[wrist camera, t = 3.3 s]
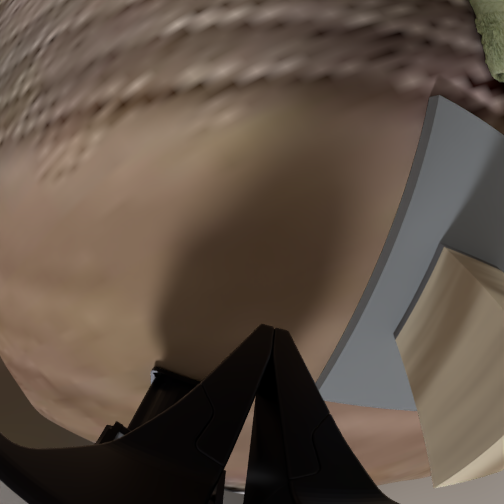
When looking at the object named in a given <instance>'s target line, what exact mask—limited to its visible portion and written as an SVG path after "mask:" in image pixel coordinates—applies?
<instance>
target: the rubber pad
mask: <svg viewBox="0 0 504 504" xmlns="http://www.w3.org/2000/svg"><path fill="white" fill-rule="evenodd" d="M439 242H440V243H443V244H445V245H448V246H450V247H453V248H455V249H457V250H460V251H462V252H465V253H467V254H470V255H472V256H474V257H477V258H479V259H481V260H484V261H486V262H488V263H490V264H493V265H495V266H497V267H498V268H499V269H500V270H501V271H502V272H503V273H504V135H503V134H501V133H500V132H499V131H497V130H496V129H494V128H493V127H491V126H490V125H489V124H487V123H486V122H484V121H483V120H481V119H480V118H478V117H476V116H475V115H473V114H472V113H470V112H468V111H467V110H465V109H464V108H462V107H460V106H458V105H457V104H455V103H453V102H451V101H450V100H448V99H446V98H444V97H442V96H441V95H437V96H432V97H429V102H428V107H427V111H426V116H425V120H424V124H423V128H422V132H421V136H420V140H419V144H418V147H417V151H416V154H415V158H414V161H413V165H412V168H411V171H410V175H409V178H408V181H407V184H406V187H405V190H404V193H403V196H402V199H401V202H400V205H399V208H398V211H397V213H396V216H395V219H394V221H393V224H392V227H391V229H390V232H389V235H388V237H387V240H386V242H385V245H384V247H383V250H382V252H381V255H380V257H379V259H378V262H377V264H376V266H375V269H374V271H373V273H372V276H371V278H370V280H369V282H368V284H367V287H366V289H365V291H364V293H363V295H362V297H361V299H360V302H359V304H358V306H357V308H356V310H355V312H354V314H353V316H352V318H351V320H350V322H349V324H348V326H347V328H346V330H345V332H344V334H343V335H342V337H341V339H340V341H339V343H338V345H337V347H336V348H335V350H334V352H333V354H332V356H331V357H330V359H329V361H328V363H327V365H326V366H325V368H324V370H323V371H322V373H321V375H320V377H319V378H318V380H317V382H316V383H315V384H316V386H317V388H318V390H319V392H320V394H321V396H322V398H323V400H324V401H330V402H337V403H343V404H350V405H358V406H366V407H374V408H384V409H396V410H410V411H417V408H416V405H415V401H414V397H413V394H412V390H411V387H410V384H409V380H408V377H407V374H406V371H405V367H404V364H403V361H402V358H401V355H400V352H399V349H398V346H397V343H396V341H395V338H394V335H393V333H394V331H395V329H396V328H397V326H398V324H399V323H400V321H401V319H402V317H403V316H404V314H405V312H406V310H407V308H408V307H409V305H410V303H411V301H412V299H413V297H414V295H415V293H416V291H417V289H418V287H419V285H420V283H421V281H422V279H423V277H424V275H425V273H426V271H427V269H428V267H429V265H430V262H431V260H432V258H433V256H434V254H435V251H436V249H437V247H438V244H439Z"/></svg>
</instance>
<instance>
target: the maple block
mask: <svg viewBox="0 0 504 504" xmlns="http://www.w3.org/2000/svg"><path fill="white" fill-rule="evenodd" d="M393 335H394V338H395V341H396V343H397V346H398V349H399V352H400V355H401V358H402V361H403V364H404V367H405V371H406V374H407V377H408V380H409V384H410V387H411V390H412V394H413V397H414V401H415V405H416V408H417V412H418V416H419V420H420V424H421V428H422V432H423V436H424V440H425V445H426V450H427V454H428V459H429V464H430V470H431V475H432V481H433V487H434V488H438V487H444V486H449V485H453V484H458V483H462V482H466V481H470V480H474V479H477V478H481V477H484V476H487V475H490V474H494V473H497V472H500V471H502V470H504V273H503V272H502V271H501V270H500V269H499V268H498V267H497V266H495V265H493V264H490V263H488V262H486V261H484V260H481V259H479V258H477V257H474V256H472V255H470V254H467V253H465V252H462V251H460V250H457V249H455V248H453V247H450V246H448V245H445V244H443V243H440V242H439V244H438V247H437V249H436V251H435V254H434V256H433V258H432V260H431V262H430V265H429V267H428V269H427V271H426V273H425V275H424V277H423V279H422V281H421V283H420V285H419V287H418V289H417V291H416V293H415V295H414V297H413V299H412V301H411V303H410V305H409V307H408V308H407V310H406V312H405V314H404V316H403V317H402V319H401V321H400V323H399V324H398V326H397V328H396V329H395V331H394V333H393Z"/></svg>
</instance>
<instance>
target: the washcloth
mask: <svg viewBox="0 0 504 504" xmlns="http://www.w3.org/2000/svg"><path fill="white" fill-rule="evenodd" d="M469 2H470V4H471V6H472V8H473V10H474V12H475V15H476V17H477V18H476V19H475V24H476V28H477V32H478V33H479V34H481V35H482V39H481V43H482V45H484V46H483V50H484V52H485V58H486V60H485V63H486V64H487V65H488V68H489V71H490V73H491V75H492V76H493V78H494V79H496V80H498V81H500V82H504V0H469Z"/></svg>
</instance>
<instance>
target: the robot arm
mask: <svg viewBox="0 0 504 504" xmlns="http://www.w3.org/2000/svg"><path fill="white" fill-rule="evenodd" d="M255 396H256V399H255V408H254V417H253V426H252V435H251V444H250V452H249V461H248V469H247V478H246V486H245V494H244V502H243V504H399V503H397V502H395V501H393V500H391V499H390V498H388V497H387V496H386V495H385V494H383V493H382V492H381V490H380V489H378V487H377V486H376V484H375V483H374V482H373V480H372V479H371V477H370V476H369V475H368V473H367V472H366V470H365V469H364V468H363V466H362V465H361V463H360V462H359V460H358V459H357V457H356V456H355V455H354V453H353V452H352V450H351V448H350V447H349V445H348V444H347V442H346V441H345V439H344V437H343V436H342V434H341V432H340V430H339V429H338V427H337V425H336V423H335V421H334V419H333V417H332V415H331V414H330V412H329V410H328V408H327V406H326V404H325V402H324V400H323V398H322V396H321V394H320V392H319V390H318V388H317V386H316V384H315V382H314V380H313V378H312V376H311V374H310V372H309V370H308V369H307V367H306V365H305V363H304V361H303V359H302V357H301V355H300V353H299V351H298V349H297V347H296V345H295V343H294V341H293V339H292V337H291V335H290V333H289V332H288V331H287V330H284V329H280V328H275V329H274V327H272V326H268V325H265V324H261V325H259V326H258V327H257V328H256V330H254V331H253V332H252V333H251V334H250V335H249V336H248V337H247V338H246V339H245V340H244V341H243V342H242V343H241V344H240V345H239V346H238V347H237V348H236V349H235V350H234V351H233V352H232V353H231V354H230V355H229V356H228V357H227V358H226V359H225V360H224V361H223V362H222V363H221V364H220V365H219V366H217V367H216V368H215V369H214V370H213V371H212V372H211V373H210V374H209V375H208V376H207V377H206V378H205V379H204V380H203V381H201V383H200V382H197V381H194V380H191V379H188V378H185V377H182V376H180V375H177V374H174V373H171V372H168V371H166V370H163V369H160V368H158V367H154V368H153V369H152V371H151V386H150V388H149V390H148V391H147V393H146V395H145V397H144V399H143V400H142V402H141V404H140V406H139V408H138V409H137V411H136V413H135V415H134V417H133V419H132V420H131V422H130V424H129V426H128V428H126V427H124V426H123V425H122V424H121V423H119V422H117V421H116V423H115V424H114V426H111V425H106V427H105V429H104V430H103V432H102V434H101V435H100V437H99V439H98V440H97V441H96V443H95V444H94V445H87V446H77V447H64V448H46V449H35V448H27V447H23V446H20V445H17V444H15V443H13V442H11V441H10V440H8V439H7V438H6V437H5V436H4V435H3V434H2V433H0V504H223V495H224V484H225V474H226V471H225V470H224V468H225V466H226V464H227V462H228V459H229V457H230V455H231V453H232V450H233V448H234V446H235V444H236V441H237V439H238V437H239V434H240V432H241V430H242V427H243V425H244V423H245V420H246V418H247V415H248V413H249V411H250V408H251V406H252V403H253V401H254V398H255Z"/></svg>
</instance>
